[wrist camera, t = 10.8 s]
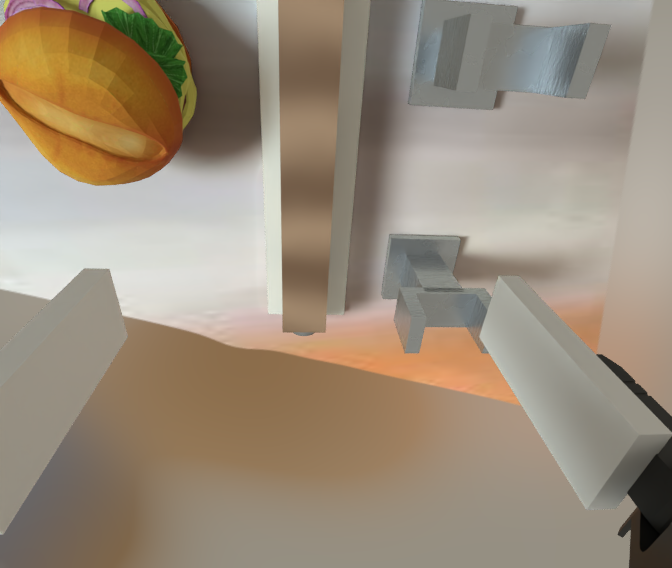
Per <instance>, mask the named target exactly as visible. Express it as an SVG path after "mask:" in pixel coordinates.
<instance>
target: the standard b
mask: <svg viewBox="0 0 672 568" xmlns="http://www.w3.org/2000/svg"><path fill="white" fill-rule="evenodd" d="M517 9H518V7H517V6H505V5H494V4H482V3H470V2H458V1H446V0H422V7H421V14H420V21H419V28H418V35H417V43H416V50H415V57H414V64H413V71H412V78H411V85H410V92H409V99H408V104H409V105H419V106H436V107H453V108H469V109H486V110H493V107H494V103H495V99H496V95H497V91H498V90H499V91H515V92H530V93H539V94H545V95H552V96H558V97H565V98H579V99H585V98H586V96H587V93H588V90H589V87H590V84H591V81H592V78H593V76H594V73H595V70H596V67H597V64H598V61H599V59H600V56H601V53H602V50H603V47H604V44H605V42H606V39H607V36H608V33H609V30H610V27H611V25H608V24H595V23H587V24H579V25H570V26H562V27H554V28H552V27H540V26H527V25H515V24H514V21H515V17H516V13H517Z"/></svg>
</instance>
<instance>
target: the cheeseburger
mask: <svg viewBox="0 0 672 568" xmlns="http://www.w3.org/2000/svg"><path fill="white" fill-rule="evenodd" d="M4 13H5V20H6V21H5V22H4V23H3V25H2V26H1V27H0V101H1V103H2V104H3V105H4V106H5V108H6V109H7V110H8V111H9V113H10V114H11V115H12V116H13V118H14V119H15V120H16V122H17V123H18V124H19V125H20V127H21V128H22V129H23V131H24V132H25V133H26V135H27V136H28V137H29V139H30V140H31V141H32V143H33V144H34V145H35V146H36V148H37V149H38V150H39V152H40V153H41V154H42V155H43V156H44V157H45V158H46V159H47V160H48V161H49V162H50V163H51V164H52V165H53V166H54V167H55V168H57V169H58V170H59V171H60V172H62V173H64V174H66V175H68V176H69V177H71V178H73V179H75V180H77V181H80V182H84V183H88V184H92V185H96V186H98V185H117V184H126V183H131V182H135V181H139V180H142V179H145V178H148V177H150V176H152V175H153V174H155V173H156V172H158V171H159V170H161V169H162V168H163V167H164V166H166V165H167V164H168V163H169V162H170V161H171V159H172V158H173V157H174V155H175V154H176V153H177V151H178V150H179V148H180V146H181V143H182V139H183V129H184V128H185V127H186V125H187V124H188V123H189V121H190V119H191V118H192V116H193V114H194V110H195V106H196V98H197V89H196V86H195V84H194V81H193V78H192V68H191V58H190V56H189V54H188V51H187V49H186V46H185V44H184V42H183V39H182V37H181V34H180V32H179V30H178V27H177V26H176V25H175V23H174V22H173V21H172V20H171V18H170V17H169V16H168V15H167V14H166V12H165V11H164V10H163V9H162V7H161V6H160V5H159V4H158V2H157V1H156V0H6V1H5V3H4Z"/></svg>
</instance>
